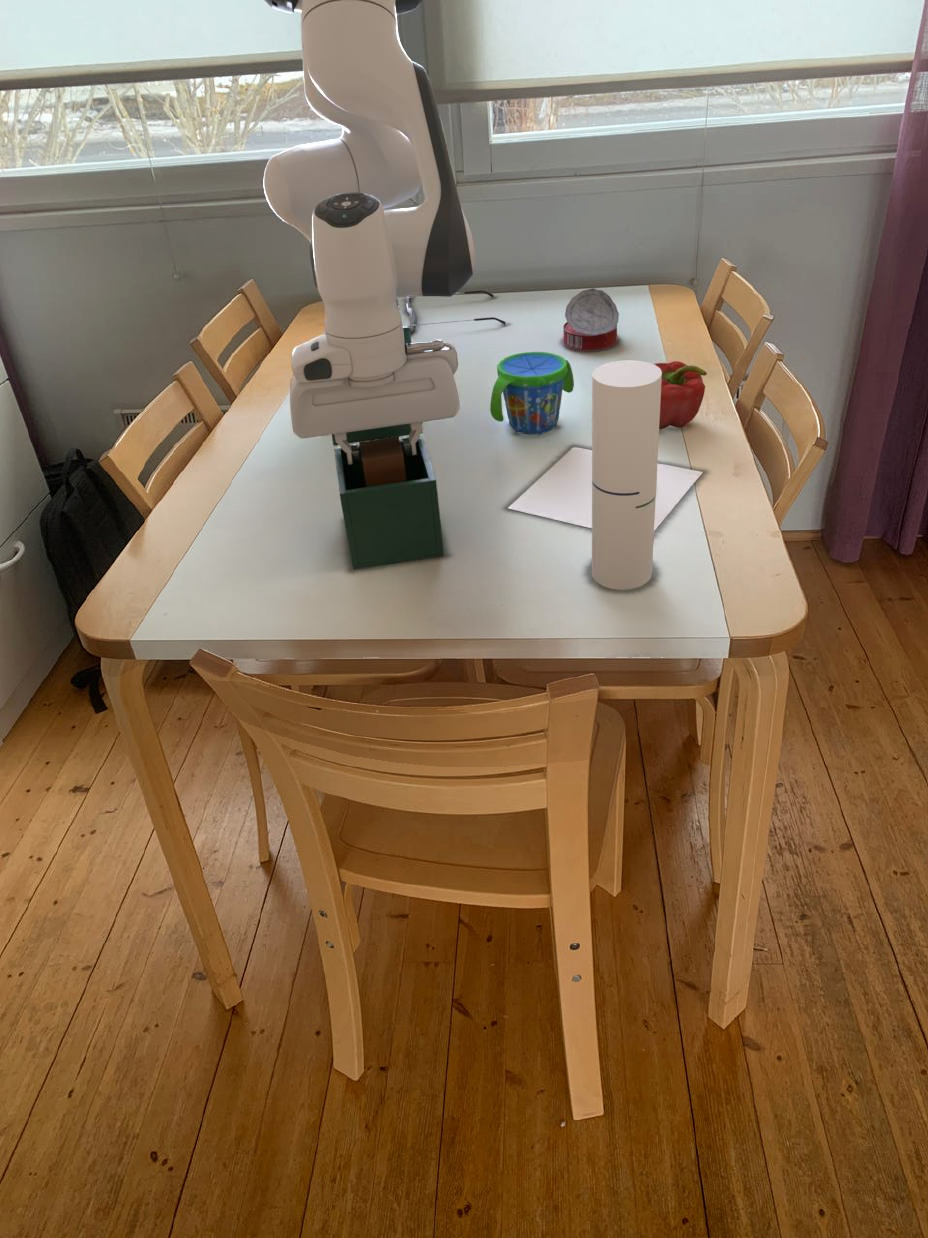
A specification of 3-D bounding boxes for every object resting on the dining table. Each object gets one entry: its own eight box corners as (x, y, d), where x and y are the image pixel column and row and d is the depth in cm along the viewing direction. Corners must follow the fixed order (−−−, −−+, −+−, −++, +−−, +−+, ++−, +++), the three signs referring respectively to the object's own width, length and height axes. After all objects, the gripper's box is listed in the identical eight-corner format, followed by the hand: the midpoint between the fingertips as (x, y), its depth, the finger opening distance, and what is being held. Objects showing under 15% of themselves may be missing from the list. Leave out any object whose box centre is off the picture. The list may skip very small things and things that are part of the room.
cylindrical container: (586, 559, 115) (586, 364, 100) (643, 553, 115) (652, 357, 100) (598, 592, 109) (599, 390, 94) (658, 585, 109) (669, 382, 95)
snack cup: (552, 401, 153) (551, 340, 147) (594, 422, 146) (594, 359, 140) (473, 429, 147) (469, 367, 141) (513, 452, 140) (510, 388, 134)
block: (364, 477, 120) (359, 442, 117) (403, 472, 120) (398, 436, 117) (367, 496, 116) (362, 459, 113) (407, 490, 116) (403, 453, 113)
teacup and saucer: (638, 505, 124) (639, 478, 122) (584, 493, 128) (584, 466, 126) (664, 476, 130) (665, 450, 128) (611, 466, 134) (612, 439, 132)
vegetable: (719, 420, 143) (725, 357, 137) (682, 445, 137) (686, 380, 132) (658, 404, 150) (661, 342, 144) (620, 427, 144) (622, 364, 138)
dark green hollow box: (444, 555, 118) (436, 480, 112) (352, 570, 117) (339, 494, 111) (430, 507, 128) (422, 435, 122) (346, 520, 127) (334, 448, 121)
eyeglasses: (405, 306, 198) (403, 287, 196) (493, 299, 199) (492, 280, 197) (410, 335, 183) (408, 315, 181) (505, 327, 185) (505, 307, 182)
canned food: (613, 358, 178) (639, 314, 171) (590, 372, 171) (616, 326, 164) (567, 324, 180) (591, 278, 173) (542, 336, 173) (566, 289, 166)
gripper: (451, 328, 111) (460, 435, 119) (279, 351, 109) (300, 458, 118) (460, 346, 106) (468, 457, 114) (279, 371, 104) (301, 481, 113)
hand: (382, 457), depth 116 cm, fingers open, 6 cm apart
